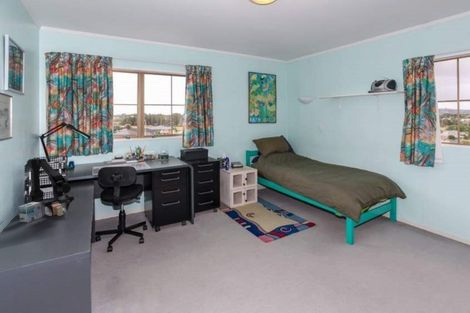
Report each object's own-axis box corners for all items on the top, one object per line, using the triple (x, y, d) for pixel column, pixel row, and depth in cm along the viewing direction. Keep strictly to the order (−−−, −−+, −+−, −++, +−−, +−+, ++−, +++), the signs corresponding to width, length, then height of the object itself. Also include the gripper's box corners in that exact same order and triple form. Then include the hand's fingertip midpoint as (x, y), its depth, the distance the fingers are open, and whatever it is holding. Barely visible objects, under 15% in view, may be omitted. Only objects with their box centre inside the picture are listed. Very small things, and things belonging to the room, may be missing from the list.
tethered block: (49, 213, 194) (49, 205, 193) (58, 211, 199) (58, 203, 198) (56, 216, 188) (55, 208, 187) (65, 214, 193) (64, 206, 192)
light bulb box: (28, 222, 178) (26, 207, 176) (19, 221, 179) (17, 206, 177) (42, 216, 188) (40, 202, 186) (34, 216, 189) (32, 201, 188)
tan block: (45, 213, 193) (44, 207, 192) (61, 209, 202) (60, 203, 201) (50, 216, 189) (49, 209, 188) (65, 211, 198) (65, 205, 197)
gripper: (47, 196, 177) (50, 218, 179) (77, 190, 192) (79, 210, 194) (40, 193, 183) (43, 215, 185) (69, 187, 198) (71, 207, 200)
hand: (59, 212), depth 191 cm, fingers open, 9 cm apart
